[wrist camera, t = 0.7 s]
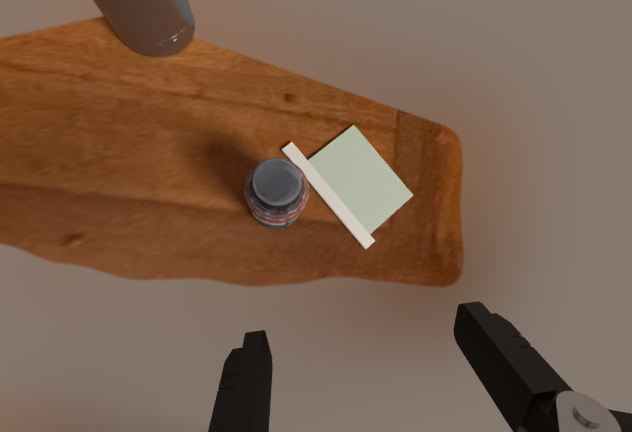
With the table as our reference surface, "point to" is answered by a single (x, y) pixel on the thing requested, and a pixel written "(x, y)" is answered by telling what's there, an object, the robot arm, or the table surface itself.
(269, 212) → the supplement bottle
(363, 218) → the white flat t-shaped panel
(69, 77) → the table surface
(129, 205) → the table surface
